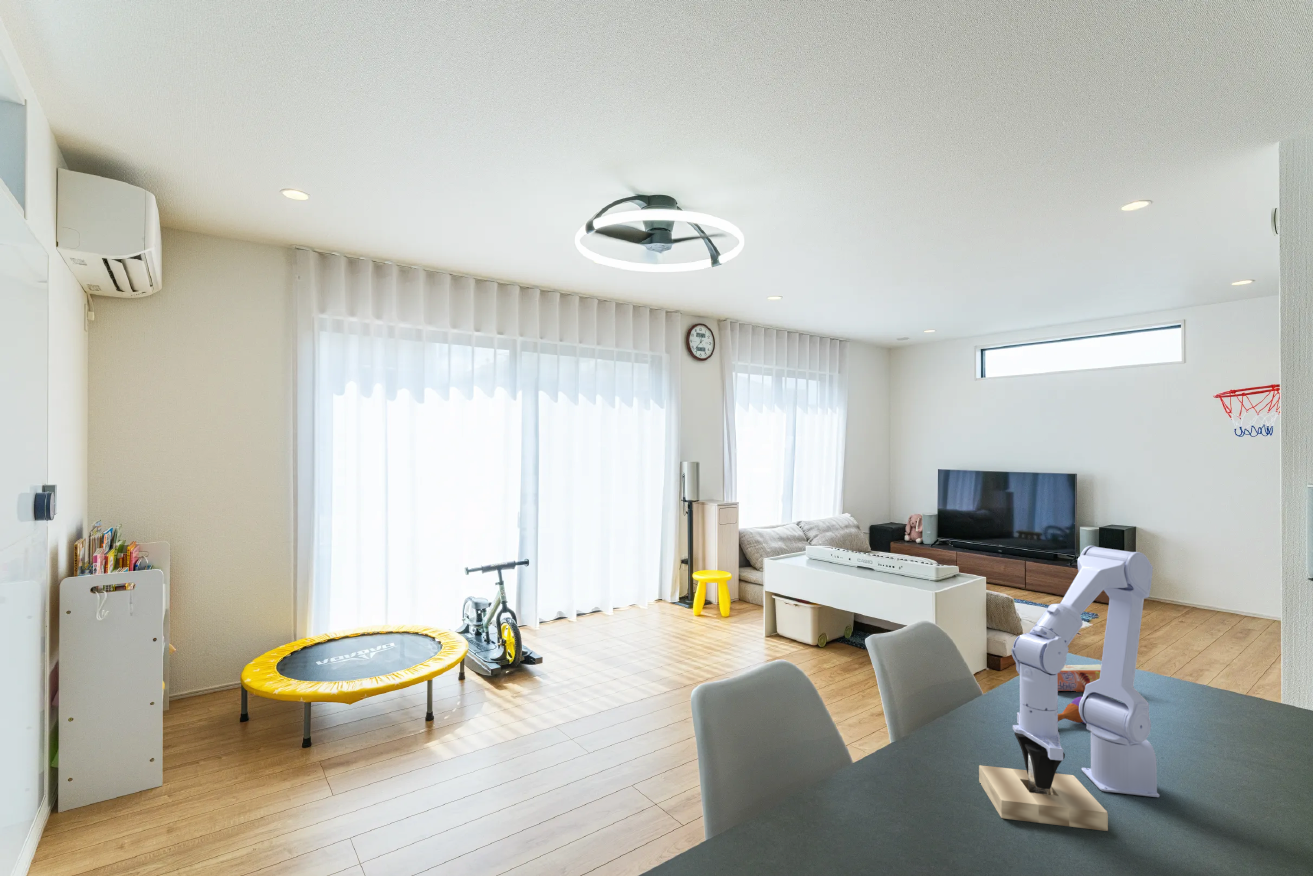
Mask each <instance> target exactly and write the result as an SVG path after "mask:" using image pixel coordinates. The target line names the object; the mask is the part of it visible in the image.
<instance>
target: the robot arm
mask: <svg viewBox="0 0 1313 876" xmlns="http://www.w3.org/2000/svg"><path fill="white" fill-rule="evenodd" d="M1079 555H1080V556H1079V557H1078V558H1077V564H1076V565H1077V570H1078V572H1077V575H1076V576H1075V577H1074V579H1073V581H1072V582H1071V584H1070V586H1069V587H1068V589H1067V591H1066V592H1065V594H1064V596H1063V598H1062V599H1061V601H1060V603H1052V604H1049V605H1048V606H1047V608H1046V609H1045V611H1044V612H1043V614H1042V615H1041V616H1040V618H1039V619H1038V620H1037V621H1036V623H1035V624H1034V626H1033V627H1032V628H1031V629H1030V631H1029V632H1025V633H1022V634H1020V635H1017V637H1016V638H1015V640H1014V641H1013V644H1012V645H1013V646H1012V648H1011V656H1012V658H1013V660H1014V662H1015V668H1016V669H1015V670H1016V671H1017V674H1018V675H1019V711H1018V712H1016V714H1017V715H1016V722H1017V724H1012V730H1013V731H1014V736H1015V738H1016V740H1017V742H1018V745H1019V747H1020V749H1021V753H1022V758H1023V760H1024V761H1023V762H1024V766H1025V770H1027V774H1028V753H1029V756H1030V759H1031V762H1032V767H1033V774H1034V780H1035V784H1036V786H1037V787H1038V788H1044V789H1050V788H1051V785H1052V782H1053V779H1054V775H1055V773H1056V771H1057V770H1058V768H1059V765H1060V764H1061V763H1062V762H1063V761H1064V759H1065V756H1066V753H1065V752H1064V748H1062V746H1061V737H1060V733H1059V731H1058V730H1059V724H1058V722H1059V721H1058V714H1059V709H1058V708H1059V706H1058V705H1059V704H1058V703H1059V699H1058V677H1057V673H1059V672H1060V671H1061V670H1062V669H1063V668H1064V666H1065V665H1066V662H1067V654H1068V653H1069V650H1070V647H1068V646H1069V645H1070V644H1071V642H1072V641H1073V639H1074V638H1075V637H1076V635H1077V634H1078V632H1080V629H1081V628H1082V627H1083V625H1084V624H1083V623H1084V622H1083V619H1082V617H1081V615H1082V614H1083V613H1084V612H1085V610H1086V609H1087V608H1088V607H1090V605H1091V604H1092V603H1093V602H1094V601H1095V600H1096V598H1097V597H1098V596H1100V594H1101V593H1102V592H1104V593H1105V594H1106V595H1107V596H1108V598H1109V601H1108V607H1107V608H1108V609H1107V617H1106V624H1105V632H1104V641H1103V649H1102V658H1101V664H1100V665H1101V672H1100V679H1098V680H1096V681H1094V682H1091V683H1089V684H1087V685H1086V686H1085V691H1084V692H1083V695H1082V696H1081V697H1082V698H1081V700H1080V703H1079V713H1080V716H1081V719H1082V720H1083V722H1085V723H1086V724H1085V725H1086V730H1088V731H1089V732H1090V768H1089V767H1081V771H1082V772H1083V773H1084V774H1085V776H1086V777H1087V778H1089V780H1091V782H1092V783H1094V785H1095V786H1096V787H1097V788H1098V790H1100V791H1101V792H1107V793H1116V794H1126V795H1135V796H1143V797H1151V798H1152V797H1153V798H1160V794H1159V792H1158V778H1157V777H1158V775H1157V773H1158V771H1157V769H1158V768H1157V765H1158V764H1157V762H1158V761H1157V756H1156V752H1155V750H1154V749H1155V748H1154V747H1153V745H1152V744H1151V742H1150V741H1149V740H1148V739H1147V738H1148V737H1149V735H1150V733H1151V730H1152V721H1151V719H1150V703H1149V702H1148V701H1147V699H1145V697H1144V696H1143V695H1142V694H1141V693H1139V691H1138V690H1137V689H1136V688H1135V687H1134V685H1135V677H1136V669H1137V668H1136V667H1137V659H1138V653H1139V652H1138V651H1139V643H1140V635H1141V627H1142V626H1141V625H1142V619H1143V618H1142V617H1143V610H1144V601H1145V599H1147V598H1149V597H1150V594H1151V590H1152V589H1151V587H1152V580H1153V569H1154V567H1153V565H1152V563H1151V562H1150V560H1149V558H1148V557H1147V555H1146V554H1144V553H1143V552H1140V551H1128V550H1120V549H1114V548H1113V549H1112V548H1105V547H1100V546H1099V547H1098V546H1096V545H1087V546H1086V547H1084V548H1083V550H1082V551H1081V553H1080V554H1079Z"/></svg>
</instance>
